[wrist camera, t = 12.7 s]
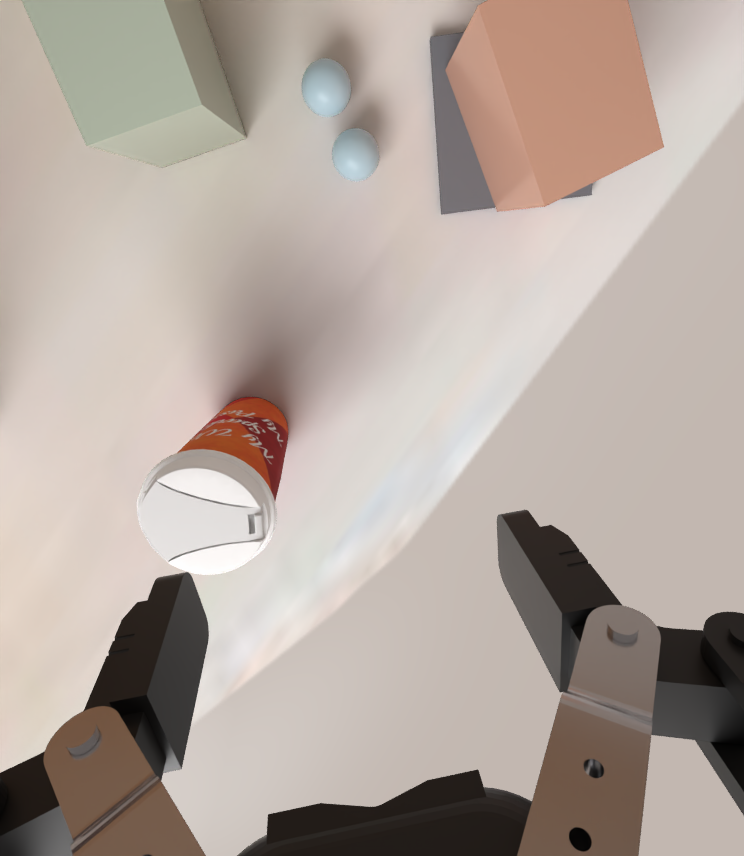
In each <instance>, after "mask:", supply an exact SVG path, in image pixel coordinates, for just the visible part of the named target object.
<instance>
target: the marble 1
mask: <svg viewBox="0 0 744 856" xmlns="http://www.w3.org/2000/svg"><path fill="white" fill-rule="evenodd" d="M302 94H303V98H304V100H305V103H306V104H307V106H308V107H309V108H310V109H311V110H312V111H313V112H314V113H315V114H317V115H319V116H322V117H333V116H336V115H338V114H339V113H341V112H342V111H343V110H344V109H345V107H346V106H347V104H348V102H349V99H350V95H351V83H350V79H349V76H348V74H347V72H346V70H345V69H344V68H343V66H342V65H341V64H339V63H338V62H336V61H335V60H332V59H328V58H322V59H318V60H316V61H314V62H313V63H311V64H310V65H309V66H308V68H307V69H306V71H305V73H304V75H303V78H302Z"/></svg>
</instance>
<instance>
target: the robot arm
mask: <svg viewBox="0 0 744 856" xmlns="http://www.w3.org/2000/svg"><path fill="white" fill-rule="evenodd" d="M497 537H498V561H499V568H500V573H501V576H502V580H503V582H504V584H505V587H506V589H507V591H508V593H509V595H510V596H511V599H512V600H513V602H514V604H515V606H516V608H517V610H518V612H519V614H520V616H521V618H522V620H523V622H524V624H525V626H526V628H527V630H528V631H529V633H530V635H531V637H532V639H533V641H534V643H535V645H536V647H537V649H538V651H539V652H540V655H541V657H542V658H543V661H544V663H545V664H546V666H547V668H548V670H549V672H550V674H551V676H552V678H553V680H554V682H555V684H556V686H557V688H558V690H559V691H560V692H563V693H562V695H561V698H560V702H559V706H558V709H557V713H556V716H555V720H554V724H553V727H552V731H551V734H550V738H549V742H548V746H547V749H546V753H545V757H544V760H543V764H542V767H541V771H540V775H539V778H538V782H537V785H536V789H535V793H534V797H533V800H532V801H530V800H528V799H526V798H523V797H521V796H519V795H516V794H514V793H511V792H508V791H504V790H499V789H494V788H486V787H485V788H484V787H483V784H482V781H481V777H480V774H479V771H478V770H474V771H469V772H465V773H460V774H455V775H450V776H446V777H441V778H436V779H432V780H427V781H426V782H424V783H422V784H420V785H418V786H416V787H414V788H412V789H410V790H408V791H406V792H405V793H403V794H401V795H399V796H397V797H395V798H393V799H391V800H389V801H387V802H386V803H384V804H382V805H379V806H376V807H364V806H350V805H336V804H323V803H320V804H315V805H311V806H306V807H301V808H296V809H292V810H287V811H283V812H278V813H273V814H269V815H268V826H267V835H265V836H264V837H262V838H260V839H258V840H257V841H255V842H254V843H252V844H251V845H250V846H248V847H247V848H246V849H244V850H243V851H242V852H241V853H240V854H239V855H237V856H638V854H639V845H640V835H641V826H642V817H643V807H644V797H645V788H646V780H647V770H648V761H649V752H650V742H651V735H658V736H666V737H675V738H683V739H692V740H695V741H696V742H697V744H698V745H699V747H700V748H701V750H702V752H703V753H704V755H705V756H706V758H707V759H708V761H709V762H710V764H711V765H712V767H713V769H714V770H715V771H716V773H717V775H718V776H719V778H720V779H721V781H722V782H723V784H724V785H725V787H726V789H727V790H728V792H729V793H730V795H731V796H732V798H733V799H734V801H735V802H736V804H737V806H738V807H739V809H740V810H741V812H742V813H743V815H744V614H743V613H737V612H721V613H717V614H714V615H712V616H710V617H709V618H708V619H707V620H706V622H705V625H704V628H703V631H701V630H686V629H672V628H663V627H659V626H656V625H655V624H654V622H653V621H652V620H651V619H650V618H649V617H647V616H646V615H645V614H643V613H641V612H639V611H637V610H635V609H633V608H629V607H626V606H622V604H621V603H620V602H619V601H618V599H617V598H616V597H615V595H614V594H613V593H612V592H611V590H610V589H609V588H608V586H607V585H606V584H605V582H604V581H603V580H602V579H601V577H600V576H599V575H598V573H597V572H596V571H595V570H594V568H593V567H592V566H591V564H588V561H587V559H586V558H585V557H584V555H583V554H582V553H581V552H579V549H578V548H577V546H576V545H575V544H574V542H573V541H572V540H571V539H570V537H569V536H568V535H566V534H565V533H563V532H562V531H560V530H558V529H557V528H555V527H554V526H552V525H549V526H543V527H539V525H538V524H537V522H536V521H535V520H534V518H533V517H532V515H531V514H530V513H529V511H527V510H522V511H516V512H511V513H506V514H501V515H498V517H497ZM208 636H209V631H208V622H207V618H206V614H205V612H204V609H203V606H202V603H201V601H200V598H199V595H198V592H197V590H196V587H195V584H194V581H193V579H192V576H191V575H190V573H188V572H185V573H180V574H175V575H169V576H164V577H159V578H157V579H156V580H155V582H154V584H153V587H152V590H151V592H150V595H149V598H148V600H147V601H142V602H137V603H136V604H135V606H134V607H133V608H132V609H131V610H130V611H129V612H128V614H127V615H126V616H125V617H124V618H123V619H122V621H121V624H120V626H119V628H118V631H117V633H116V636H115V641H113V643H112V645H111V647H110V650H109V652H108V653H109V656H107V657H106V659H105V662H104V664H103V666H102V669H101V671H100V674H99V676H98V678H97V681H96V683H95V685H94V688H93V690H92V693H91V695H90V697H89V700H88V702H87V704H86V707H85V709H84V711H83V712H81V713H79V714H77V715H76V716H74V717H72V718H71V719H70V720H68V721H67V722H66V723H65V724H64V725H63V726H61V727H60V728H59V730H58V731H57V732H56V733H55V734H54V736H53V737H52V738H51V740H50V741H49V743H48V745H47V747H46V750H45V752H43V753H41V754H39V755H37V756H35V757H33V758H31V759H29V760H27V761H25V762H22V763H20V764H18V765H16V766H14V767H12V768H10V769H8V770H6V771H3V772H1V773H0V856H206V855H205V854H204V852H203V850H202V849H201V847H200V845H199V844H198V842H197V840H196V839H195V837H194V835H193V834H192V832H191V830H190V829H189V827H188V825H187V824H186V822H185V820H184V819H183V817H182V815H181V814H180V812H179V810H178V809H177V807H176V805H175V804H174V802H173V800H172V799H171V797H170V795H169V794H168V792H167V790H166V789H165V787H164V785H163V784H162V782H161V779H162V775H163V773H166V772H170V771H175V770H180V769H182V764H183V760H184V755H185V750H186V745H187V740H188V735H189V731H190V726H191V721H192V716H193V712H194V707H195V702H196V697H197V693H198V688H199V683H200V678H201V673H202V669H203V664H204V659H205V654H206V649H207V645H208Z"/></svg>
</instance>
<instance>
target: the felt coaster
mask: <svg viewBox="0 0 744 856" xmlns="http://www.w3.org/2000/svg"><path fill="white" fill-rule="evenodd" d="M463 34H464V32H463V33H455V34H448V35H441V36H434V37H431V38H430V51H431V66H432V81H433V96H434V112H435V127H436V142H437V157H438V172H439V187H440V202H441V214H448V213H456V212H464V211H471V210H479V209H487V208H495V204H494V202H493V199H492V196H491V193H490V191H489V188H488V185H487V183H486V180H485V177H484V174H483V172H482V169H481V166H480V163H479V161H478V158H477V155H476V152H475V150H474V147H473V144H472V142H471V139H470V136H469V133H468V131H467V128H466V125H465V122H464V120H463V117H462V114H461V112H460V109H459V106H458V103H457V101H456V98H455V95H454V92H453V90H452V87H451V84H450V82H449V79H448V76H447V73H446V71H445V69H446V67H447V65H448V63H449V61H450V59H451V57H452V56H453V54H454V52H455V50H456V48H457V46H458V44H459V42H460V40H461V38H462V36H463ZM588 195H592V183H591V184H589V185H587V186H585V187H583V188H581V189H579V190H577V191H575V192H573V193H571V194H569V195H567V196H565V197H563V198H561V199H564V198H572V197H580V196H588Z"/></svg>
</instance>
